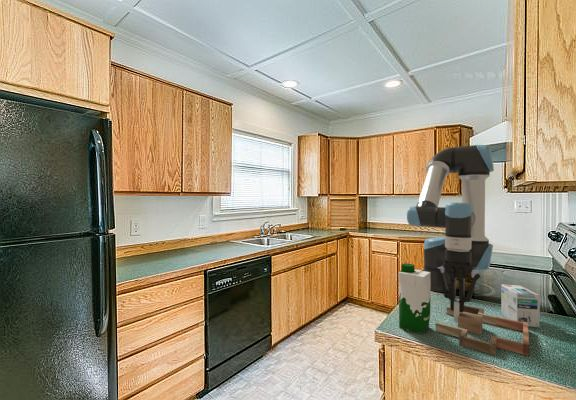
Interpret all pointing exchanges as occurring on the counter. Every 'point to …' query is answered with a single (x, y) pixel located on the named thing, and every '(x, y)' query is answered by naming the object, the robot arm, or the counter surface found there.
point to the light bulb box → (520, 304)
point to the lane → (501, 343)
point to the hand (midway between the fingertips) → (457, 320)
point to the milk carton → (414, 298)
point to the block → (470, 322)
